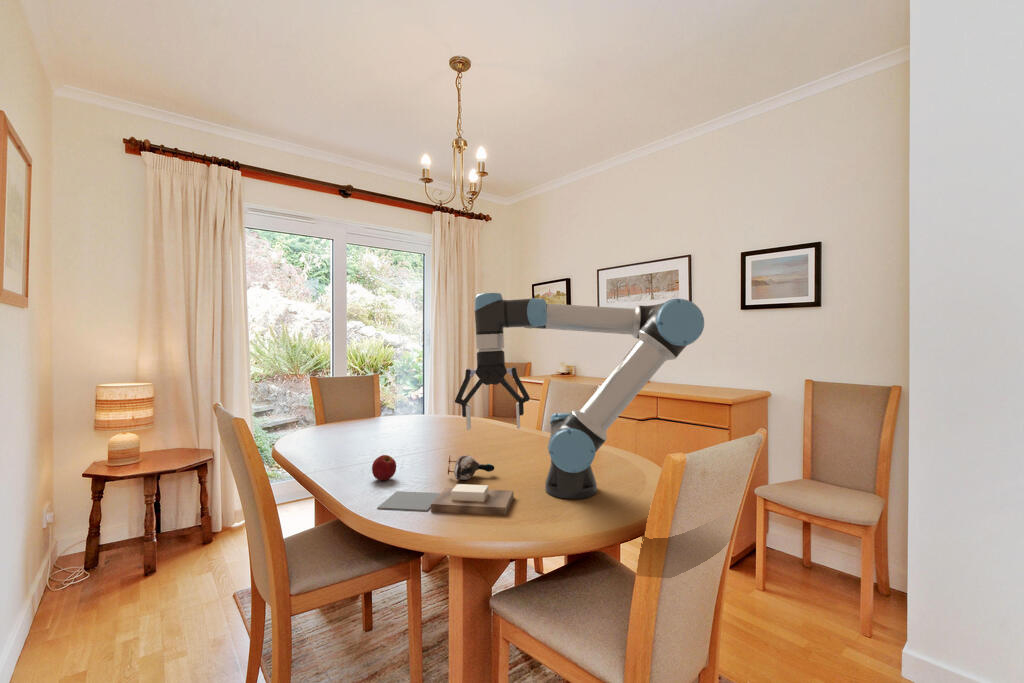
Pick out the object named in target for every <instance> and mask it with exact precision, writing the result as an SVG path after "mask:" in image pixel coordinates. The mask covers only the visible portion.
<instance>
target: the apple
mask: <svg viewBox="0 0 1024 683" xmlns="http://www.w3.org/2000/svg"><path fill="white" fill-rule="evenodd" d="M371 471H372V475H373V477H374V478H375V479H376V480H377V481H380V482H385V481H388V480H390V479H392V478H393V477H394V475H395V473H396V472H397V463H396V460H395V459H394V458H393V457H392V456H390V455H388V454H383V455H380V456H378V457H376V458H375V459H374V461H373V463H372V466H371Z"/></svg>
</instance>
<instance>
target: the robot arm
mask: <svg viewBox="0 0 1024 683" xmlns="http://www.w3.org/2000/svg"><path fill="white" fill-rule="evenodd" d="M474 317H475V318H474V323H475V342H476V344H475V345H476V346H475V348H476V349H477V350H478V351H476V352H477V353H476V369H471V368H467V369H466V370H465V374H464V375H465V376H464V379H463V380H462V384H461V386H460V388H459V390H458V393H457V395H456V397H455V399H454V403H455V404H459V405H460V406H461V415H462V418H465V422H466V431H470V430H471V428H472V420H471V418H472V417H471V416H472V415H471V404H468V403H469V402H470V400H471V399H472V397H473V396H474V395H475V394H476V393H477V392H478V390H479V388H481V386H482V385H483V384H484V385H486V386H489V385H494V386H495V385H499V384H501V385H502V386H503V387H504V388H505V389H506V391H507V392H508V393H509V394H510V395H511V396H512V397H513V398H514V400H516V403H515V413H516V414H515V416H516V429H521V417H520V416H524V412H525V408H524V403H526V402H529V401H530V398H531V396H530V395H529V393H528V391H527V389H526V388H525V386H524V384H523V383H522V382H523V381H522V380H521V378H520V377H519V375H518V371H517V367H516V366H513V367H509V368H507V367H506V360H505V357H506V356H505V351H504V348H505V338H504V336H505V335H504V328H506V329H507V328H525V329H543V330H544V329H545V330H557V331H571V332H572V331H573V332H588V333H589V332H590V333H591V332H592V333H603V334H618V335H631V336H632V337H633V338H634V339H638V341H637V342H636V343H635V344H634V346H633V347H632V348H631V349H630V350H629V351H628V353H626V355H625V356H624V357H623V359H622V360H621V361H620V362H619V363H618V364H617V365H616V366H615V368H614V369H613V370H612V372H611V373H610V374H609V375H608V377H607V378H606V379H605V380H603V382H602V383H601V384H600V386H599V387H598V388H597V389H596V390H595V392H594V393H593V394H592V395H591V396H590V398H589V399H588V400H587V401H586V403H585V404H584V405H583V406H582V407H581V408H579V409H572V410H571V412H555V413H552V414H551V415H550V421H549V425H550V437H549V442H548V445H547V447H548V448H547V449H548V453H549V456H550V457H549V458H550V466H549V469H548V473H547V476H546V479H545V482H544V483H545V488H544V490H545V492H546V493H547V494H548V495H550V496H552V497H555V498H561V499H565V500H566V499H567V500H568V499H569V500H579V499H587V498H590V497H593V496H594V495H596V494H597V492H598V491H597V490H598V489H597V488H598V487H597V486H598V485H597V481H596V477H595V475H594V472H593V469H592V466H591V465H592V463H593V461H594V460H595V457H596V453H597V452H598V451H599V449H600V448H601V447H602V446H603V444H604V443H606V441H607V440H608V439H607V438H608V435H607V430H608V429H609V428H610V427H611V426H612V425H613V424H614V423H615V421H616V420H617V419H618V418H619V416H621V414H622V413H623V411H625V410H626V409H627V407H628V406H629V405H630V403H631V402H632V401H633V400H634V399H635V397H636V396H637V395H638V394H639V393H640V392H641V390H643V389H644V387H645V386H646V384H648V383H649V381H650V380H651V379H652V377H654V375H655V374H656V373H657V372H658V370H659V369H660V368H661V367H662V366H663V365H664V363H666V361H670V360H676V359H677V358H678V357H679V355H680V354H681V353H682V352H683V351H684V350H685V348H686V347H687V346H689V345H691V344H694V343H695V342H696V341H697V340H698V339H699V338H700V336H701V335H702V334H703V331H704V328H705V318H704V314H703V312H702V311H701V308H700V307H699V306H698V305H697V304H696V303H694V302H693V301H690V300H689V299H684V298H672V299H669V300H667V301H665V302H663V303H658V304H651V305H636V306H635V307H634V308H627V307H614V306H613V307H612V306H611V307H610V306H593V305H576V304H575V305H574V304H558V303H557V304H556V303H547V301H546V300H545V299H544V298H536V297H531V298H523V299H521V298H520V299H503V296H502V293H499V292H483V293H478V294H476V295H475V298H474ZM507 373H508V374H509V376H512V378H513V380H514V382H515V384H516V386H517V388H518V390H519V391H520V393H521V394H522V396H523V397H521V395H520V394H519V393H518V392H517V391H516V390H515V389H514V388H513V387H512V386H511V384H510V383H509V382H508V381H507V379H506V378H505V376H506V375H507ZM474 375H476V377H478V380H477V382H476V383H475V385H474V386H473V387H472V388H471V389H470V390H469V392H468V393H467V395H466V396H465V398H464V399H463V397H464V394H465V392H466V390H467V388H468V385H469V383H470V380H471V379H472V378H473V377H474Z"/></svg>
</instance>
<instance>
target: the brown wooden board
mask: <svg viewBox="0 0 1024 683" xmlns="http://www.w3.org/2000/svg"><path fill="white" fill-rule="evenodd" d="M453 488H454V487H444V489H443V490H442V491H441V492H439V493H440V495H439V496H438V497H437V498H436V499H435V500H434V501H433V502H432V503H431V508H430V512H431V513H432V512H436V513H437V512H438V513H453V514H455V513H456V514H470V515H471V514H472V515H473V514H474V515H491V516H492V515H493V516H494V515H495V516H506V515H507V513H508V511H509V508H510V507H511V504H512V502H513V500H514V490H511V489H510V490H508V489H507V490H505V489H488V496H487V497H486V499H485V500H484V502H483V501H461V500H451V491H452V490H453Z"/></svg>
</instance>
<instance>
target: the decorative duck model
mask: <svg viewBox="0 0 1024 683" xmlns="http://www.w3.org/2000/svg"><path fill="white" fill-rule="evenodd" d="M451 463H455V465H454V469H453V470H454V471H453V470H450V466H448V467H447V468H448V469H447V475H448V476H449V475H450V473H454V477H455V479H456V480H458V481H466V480H470V479H471V478H472V477H473V476H474V474H475V473H476V471H478V470H482V471H485V472H488V473H489V472H493V471H494V470H495V465H493V464H491V463H487V464H483V463H479V462H478V461H476V459H475V458H474V457H473V456H471V455H461V456H459V457H458V458H457V459H456V460H451V455H449V458H448V465H450V464H451Z"/></svg>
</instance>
